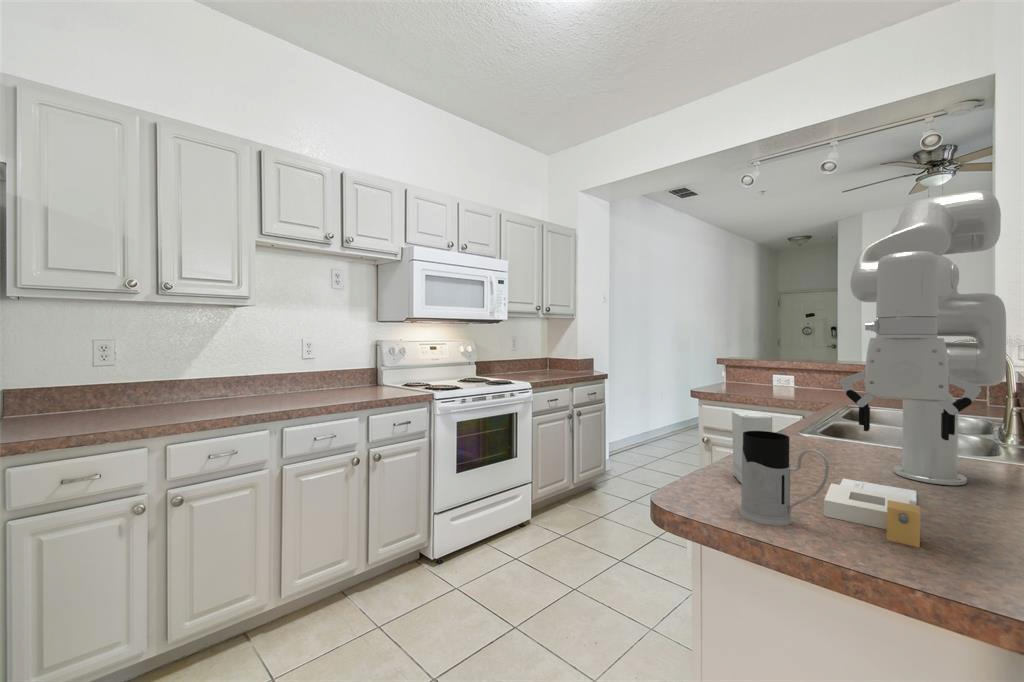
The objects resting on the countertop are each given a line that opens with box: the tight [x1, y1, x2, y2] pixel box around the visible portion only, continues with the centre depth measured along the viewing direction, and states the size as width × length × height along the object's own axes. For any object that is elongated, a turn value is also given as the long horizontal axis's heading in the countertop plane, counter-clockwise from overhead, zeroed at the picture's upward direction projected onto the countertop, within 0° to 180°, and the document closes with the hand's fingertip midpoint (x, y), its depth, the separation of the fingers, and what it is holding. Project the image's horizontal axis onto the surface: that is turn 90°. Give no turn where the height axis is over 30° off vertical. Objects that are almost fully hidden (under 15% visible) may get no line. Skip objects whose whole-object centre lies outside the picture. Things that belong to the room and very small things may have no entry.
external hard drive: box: [839, 478, 918, 505], centre depth 96 cm, size 2×8×12 cm
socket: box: [823, 482, 910, 531], centre depth 84 cm, size 12×12×3 cm
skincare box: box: [731, 410, 773, 485], centre depth 103 cm, size 8×7×16 cm
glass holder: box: [738, 431, 830, 527], centre depth 82 cm, size 9×14×15 cm, turn 41°
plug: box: [886, 500, 921, 548], centre depth 74 cm, size 6×4×6 cm
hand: (904, 434), depth 74 cm, fingers open, 9 cm apart
